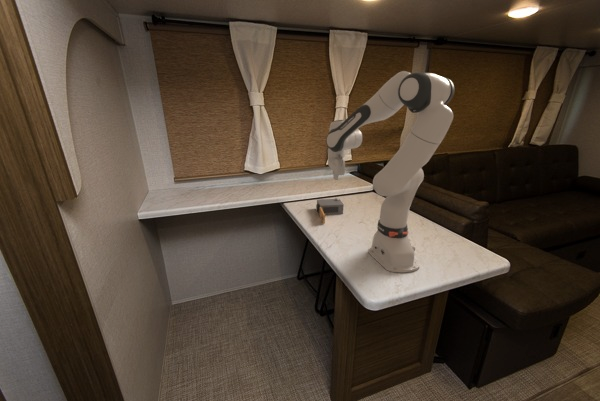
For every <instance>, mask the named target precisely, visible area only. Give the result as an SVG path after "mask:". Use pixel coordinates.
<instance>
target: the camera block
mask: <svg viewBox="0 0 600 401" xmlns="http://www.w3.org/2000/svg"><path fill="white" fill-rule="evenodd" d="M344 205H345V204H344V203H343V201H341V199H340V198H339V197H335V198H325V199H323V198H322V199H320V198H319V199H316V204H315V208H316V209H315V210H316V212H318V213H319V207H321V208H322V210H323V212H324V214H325V216H327V215H343V214H344Z"/></svg>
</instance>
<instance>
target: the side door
mask: <svg viewBox="0 0 600 401" xmlns="http://www.w3.org/2000/svg"><path fill="white" fill-rule="evenodd" d="M318 216H319V217H320V219H321V223H322V224H323V225H324V224H325V222H326V221H325V220H326V215H325V214H324V212H323V210H322V208H321V207H319V212H318Z"/></svg>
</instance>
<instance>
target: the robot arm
mask: <svg viewBox="0 0 600 401" xmlns="http://www.w3.org/2000/svg"><path fill="white" fill-rule="evenodd" d="M454 95H455V85H454V82H453V81H452V80H451V79H449V78H448V77H446V76H443V75H442V76H441V75H438V74H436V73H434V72H433V73H432V72H422V71H417V72H413V73H412V72H409V71H406V70H402V71H399V72H398V73H396V74H395V75H393V76H392V77H390V79H389V80H387V81H386V82H385V83H383V85H382V86H381V87H380V88H379V89H378V91H376V93H374V94H373V95H372V97H370V98H369V99H368V100H367V101H366V102H364V103H363V104H362V105H361V106H359V107H357V109H356V110H354V111H353V112H352V113H351V114H350V115H349V116H348V117H347V118H346V119H338V120H333V121H331V122H330V125H329V132H328V133H327V135H326V139H325V142H326V146H327V147H328V148H327V150H326V153H327V160H328V161H327V162H328V163H327V164H328V167H329V168H330V169H331V170H332V173H333V174H332V175H333V176H332V177H333V179H334V180H335V181H338V180H339V176H344V175H345V174H346V161H345V160H344V158H346V155H347V150H354V149H357V148H359V147H360V146H361V145H362V143H363V139H364V136H363V135H364V134H363V133H362V131H361V129H360V128H361V127H363V126H365V125H367V124H371V123H372V124H373V123H377V122H380V121H385V120H387V119H389V118H390V117H393V116H394V115H395V114H396V113H397V112H399V110H400V109H401V108H403V106H404V107H406V108H407V109H408V110H409V111H410V112H411V113H412V114H416V115H417V116H416V120H415V121H414V124H413V125H412V127H411V128H410V130H409V131H408V134H407V135H406V138H405V139H404V141H403V142H402V144H401V146H400V147H399V149H398V150H397V152H396V153H395V154H394V155H393V156H392V157H391V159H390V160H389V161H388V162H387V163H386V165H385V166H384V167H383V168H382V169H381V170H380V171H378V172H377V173H376V174H375V175H374V177H373V179H372V187H373V189H374V191H375V192H376V193H377V194H378V195H379V196H381V197H385V198H384V200H383V201H382V203H381V205H380V213H379V219H378V220H377V221H378V222H377V226H376V228H377V230H376V232H375V233H374V234H373V237H372V243H371V247H370V248H369V249H368V251H367V252H368V253H369V255H370V256H371V257H372V258H373V259H374V260H375V261H377V263H379V264H380V265H381V267H383V268H384V269H385V270H386V271H388V272H392V273H411V272H415V271H417V270H419V269H420V265H419V263H418V261H417V260H416V258H415V251H416V246H415V245H412V242H411V239H410V238H409V236H408V235H409V228H408V218H409V212H410V209H411V208H410V207H411V205H412V203H413V200H414V198H415V196H416V193H417V191H418V188H419V187H420V185H421V184H422V182H423V181H424V179H425V178H424V177H425V174H424V170H423V167H424V166H425V165H427V163H428V162H430V160H431V158H432V157H433V156H434V154H435V152H436V150H437V149H438V148H439V146H440V144H442V141H443V140H444V139H445V137H446V135H447V134H448V133H447V132H449V129H450V126H451V125H452V123H453V120H454V112H453V111H452V109H451V108H450V106H447V104H449V103H450V102H451V101H452V99H453V97H454Z"/></svg>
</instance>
